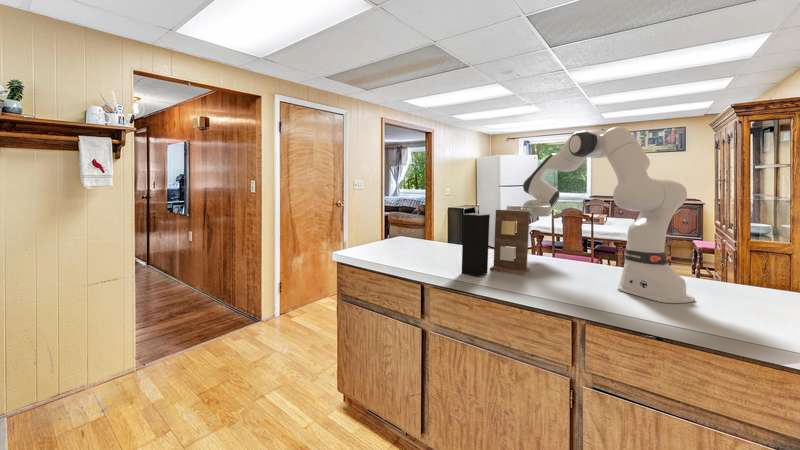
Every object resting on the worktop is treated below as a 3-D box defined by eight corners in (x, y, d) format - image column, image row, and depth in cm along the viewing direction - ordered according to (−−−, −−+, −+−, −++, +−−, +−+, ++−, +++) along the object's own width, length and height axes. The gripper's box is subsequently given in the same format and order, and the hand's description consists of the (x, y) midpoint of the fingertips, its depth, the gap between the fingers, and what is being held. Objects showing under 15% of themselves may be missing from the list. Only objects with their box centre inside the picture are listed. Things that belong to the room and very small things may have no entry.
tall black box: (487, 273, 150) (490, 206, 147) (477, 277, 144) (480, 207, 141) (471, 270, 155) (473, 205, 152) (461, 273, 150) (463, 206, 147)
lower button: (505, 257, 158) (505, 244, 158) (518, 258, 155) (518, 245, 155) (500, 259, 153) (500, 246, 152) (513, 261, 150) (513, 248, 149)
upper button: (506, 232, 157) (506, 219, 157) (519, 233, 154) (519, 220, 153) (501, 233, 152) (501, 220, 151) (514, 235, 148) (515, 221, 148)
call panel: (497, 266, 164) (500, 208, 161) (529, 270, 156) (532, 210, 153) (489, 270, 156) (492, 210, 153) (522, 275, 148) (525, 211, 145)
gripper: (511, 202, 185) (502, 203, 173) (553, 203, 173) (547, 203, 162) (510, 214, 185) (502, 216, 174) (553, 216, 174) (546, 217, 162)
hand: (524, 210), depth 168 cm, fingers closed
